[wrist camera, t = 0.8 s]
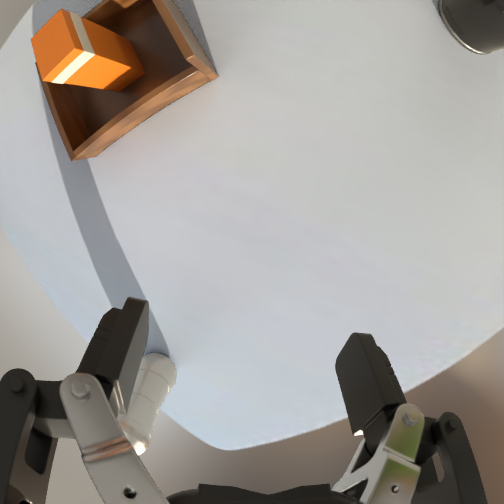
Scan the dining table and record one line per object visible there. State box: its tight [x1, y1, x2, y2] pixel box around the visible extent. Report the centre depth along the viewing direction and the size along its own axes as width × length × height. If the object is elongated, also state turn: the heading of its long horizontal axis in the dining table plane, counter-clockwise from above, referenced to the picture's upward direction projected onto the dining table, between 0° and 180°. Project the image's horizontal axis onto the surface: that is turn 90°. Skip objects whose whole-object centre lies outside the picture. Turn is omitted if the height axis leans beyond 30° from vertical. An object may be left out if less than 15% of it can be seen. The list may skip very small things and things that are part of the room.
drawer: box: [35, 0, 218, 161], centre depth 22 cm, size 18×16×9 cm
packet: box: [31, 9, 145, 92], centre depth 20 cm, size 4×6×13 cm
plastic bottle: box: [117, 353, 177, 455], centre depth 33 cm, size 6×7×20 cm
